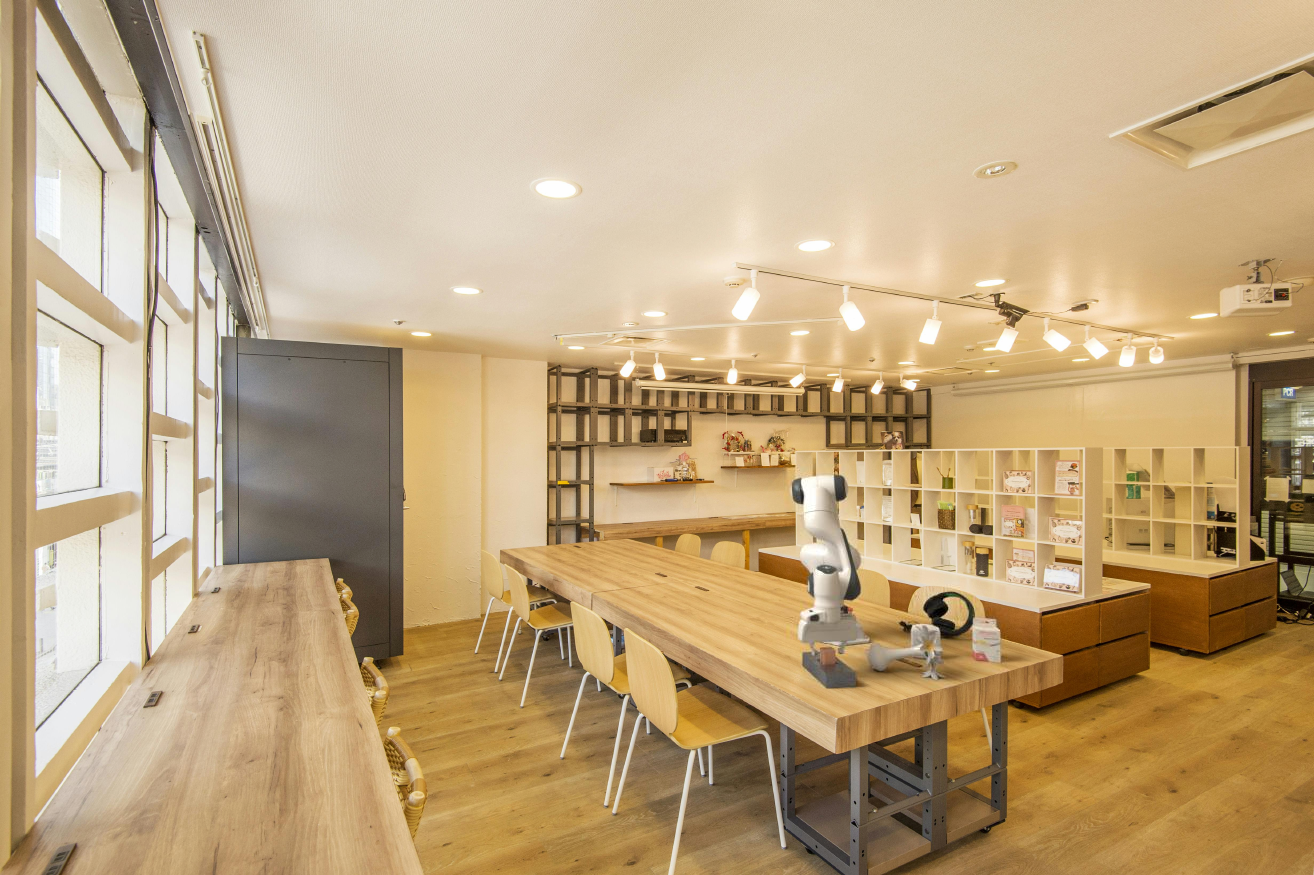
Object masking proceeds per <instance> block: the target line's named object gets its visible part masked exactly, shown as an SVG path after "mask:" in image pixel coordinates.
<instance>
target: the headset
mask: <svg viewBox="0 0 1314 875" xmlns="http://www.w3.org/2000/svg"><path fill="white" fill-rule="evenodd" d="M951 597H952V598H959V599H960V600H962V601H963V602H964V603H965V606H966V608H967V611H968V616H967V619H966V621H965V622H964V624H963V625H962V626H960V627H959V628H956V623H955V622H953V621H952V620H949V619H947V618H942V617H944V616H945V615H946V614H947V613H948V611H949V605H948V604H947V603H946V602H945V601H944V599H947V598H951ZM974 607H975V606H973V604H972V602H971V600H970V599H969V598H967V597H966V596H964V595H963V594H961V593H959V592H956V591H951V590H950V591H944V592H940V593H938V594H935V595H932V596H930V597H929V598H928V599H926V601H925V602H924V605H923V607H922V608H923V609H922V611H923V612H924V613H925V614H927V616H928V618H929V619H931V624H930V625H933V626H936V627H938V628H939V630H940V637H941V638H949V637H952V638H953V637H959V636H961V635H963V634H965V633H967V632H968V631H969V630H971V629H972V626H973V618H976V611H975V608H974ZM898 623H899V626H901V627H902V628H903V629H902V631H903V632H905V633H909V631H911V629H912V624H913V623H915V624H920V623H919V622H917V621H908V622H907V623H906V621H903V620H901V621H898ZM909 623H911V624H909Z"/></svg>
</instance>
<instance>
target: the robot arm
mask: <svg viewBox="0 0 1314 875" xmlns="http://www.w3.org/2000/svg"><path fill="white" fill-rule="evenodd" d="M789 490H790V495H791V498H792V500H793V502H794V503H796V504H798V505H803V506H802V508H803V509H802V512H803V524H804V529H805V530H806V531H807V533H808V534H809V535H810V536H812V537H814V538H815V539H817V540H820V541H822V542H823V543H821V542H811V543H805V544H804V545H803V546H802V547H801V549H800V552H799V559H800V562H801V564H802V565H803V567H805V568H806V570H808V571H809V573H810V574H809V575H808V576H807V577H806V578H807V590H806V591H807V593H808V594H809V595H810V597H812V598H814V601H813V602H814V603H813V606H812V607H811V608H807V609H805V610H802V611H800V618H801V619H800V620H799V622H798V627H797V628H798V629H797V639H798V640H799V641H800V642H801V643H802V644H808V646H809V648H810V649H811V652H812V655H818V652H819V651H818V649H817V648H815V647H814V646H815V643H824V644H829V645H834V646H840V647H838V648H837V653H838V655H844V654H845V650H846V647H847V646H849V645H850V646H851V645H857V644H866V643H870V642H871V640H870V637H869V636H867V634H865V633H864V628H863V626H862V624H861V623H860V622H859V621H858V620H857V616H856V615H855V613H854V614H853V608H852V607H850V606H848V605H846V604H845V601H852V602H853V601H855V600H856V599H857V598H858V597H859V596H860V595H861V593H862V584H861V580H860V577H859V576H858V572H857V571H858V570H859V568H860V566H861V563H862V558H861V553H860V552H859V551H858V549H857V548H855V547H854V546H853V545H852V544H851V543H850V542H849V540H848V537H847V534H846V531H845V530H844V529H843V527H841V524H840V516H839V511H838V510H839V509H838V505H837V503H838V502H842V501H845V499H846V498H847V496H848V493H849V484H848V482H847V480H846V478H845V476H843V475H842V474H834V475H832V474H831V475H830V474H829V475H828V474H818V475H812V476H807V477H803V478H802V477H798V478H795V479H794V480H793V481H792V482H791V486H790V489H789Z"/></svg>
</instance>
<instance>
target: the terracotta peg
mask: <svg viewBox="0 0 1314 875" xmlns="http://www.w3.org/2000/svg"><path fill="white" fill-rule="evenodd" d="M819 652H820V663H821V664H823V665H828V664H836V657H837V656H836V649H834V648H833V647H832V646H820V647H819Z"/></svg>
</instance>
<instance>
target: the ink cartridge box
mask: <svg viewBox="0 0 1314 875" xmlns="http://www.w3.org/2000/svg"><path fill="white" fill-rule="evenodd" d="M971 629H972V633H971V634H972V636H971V637H972V641H971V642H972V646H971V647H972V657H973V658H974V660H975V661H978V662H990V663H1001V662H1002V660H1001V659H1002V658H1001V657H1002V656H1001V655H1002V654H1001V652H1002V651H1001V647H1002V646H1001V645H1002V644H1001V641H1002V640H1001V630H1000V629H999V628H998V627H997V619H995V618H985V617H984V618H982V617H975V618H973V625H972V627H971Z"/></svg>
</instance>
